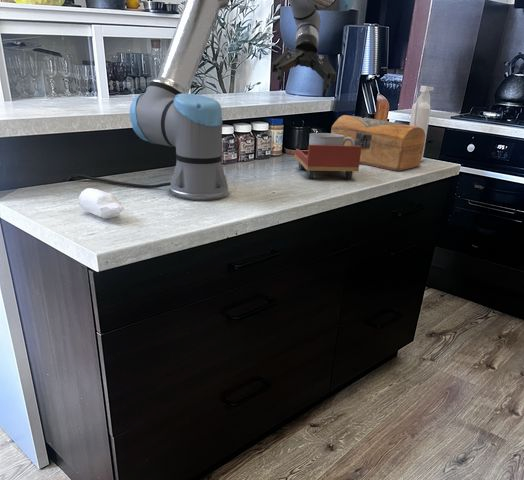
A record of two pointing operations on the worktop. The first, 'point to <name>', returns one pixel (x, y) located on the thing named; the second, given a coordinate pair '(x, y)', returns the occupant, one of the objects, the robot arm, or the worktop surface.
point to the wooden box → (383, 141)
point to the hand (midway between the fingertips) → (302, 89)
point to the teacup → (328, 139)
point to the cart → (329, 159)
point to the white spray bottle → (422, 111)
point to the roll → (100, 203)
